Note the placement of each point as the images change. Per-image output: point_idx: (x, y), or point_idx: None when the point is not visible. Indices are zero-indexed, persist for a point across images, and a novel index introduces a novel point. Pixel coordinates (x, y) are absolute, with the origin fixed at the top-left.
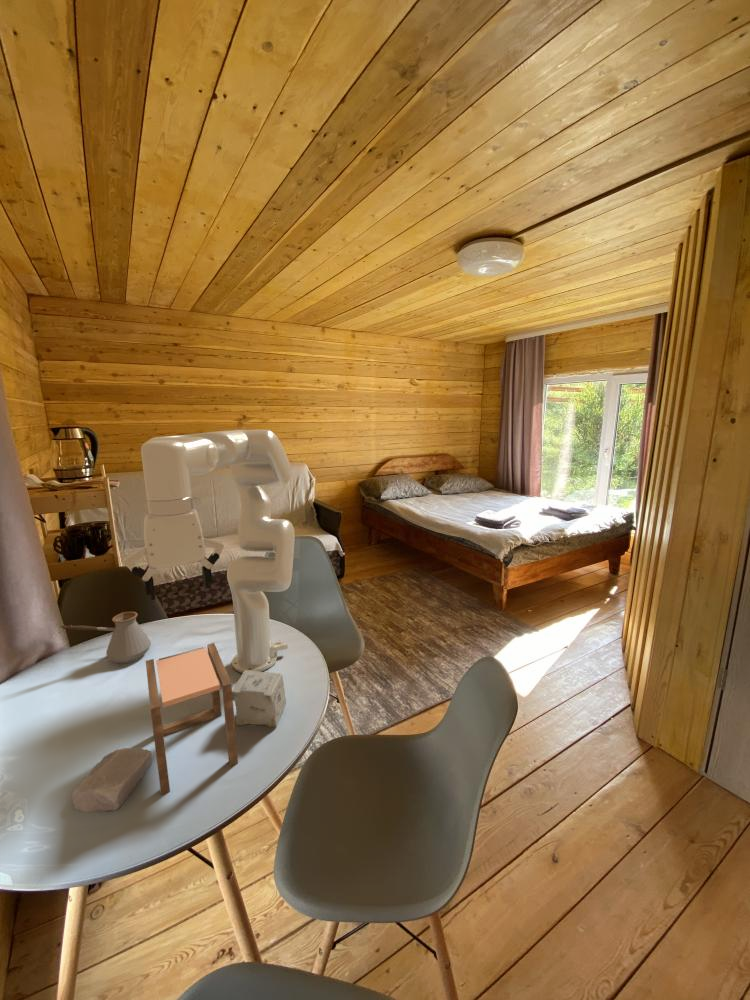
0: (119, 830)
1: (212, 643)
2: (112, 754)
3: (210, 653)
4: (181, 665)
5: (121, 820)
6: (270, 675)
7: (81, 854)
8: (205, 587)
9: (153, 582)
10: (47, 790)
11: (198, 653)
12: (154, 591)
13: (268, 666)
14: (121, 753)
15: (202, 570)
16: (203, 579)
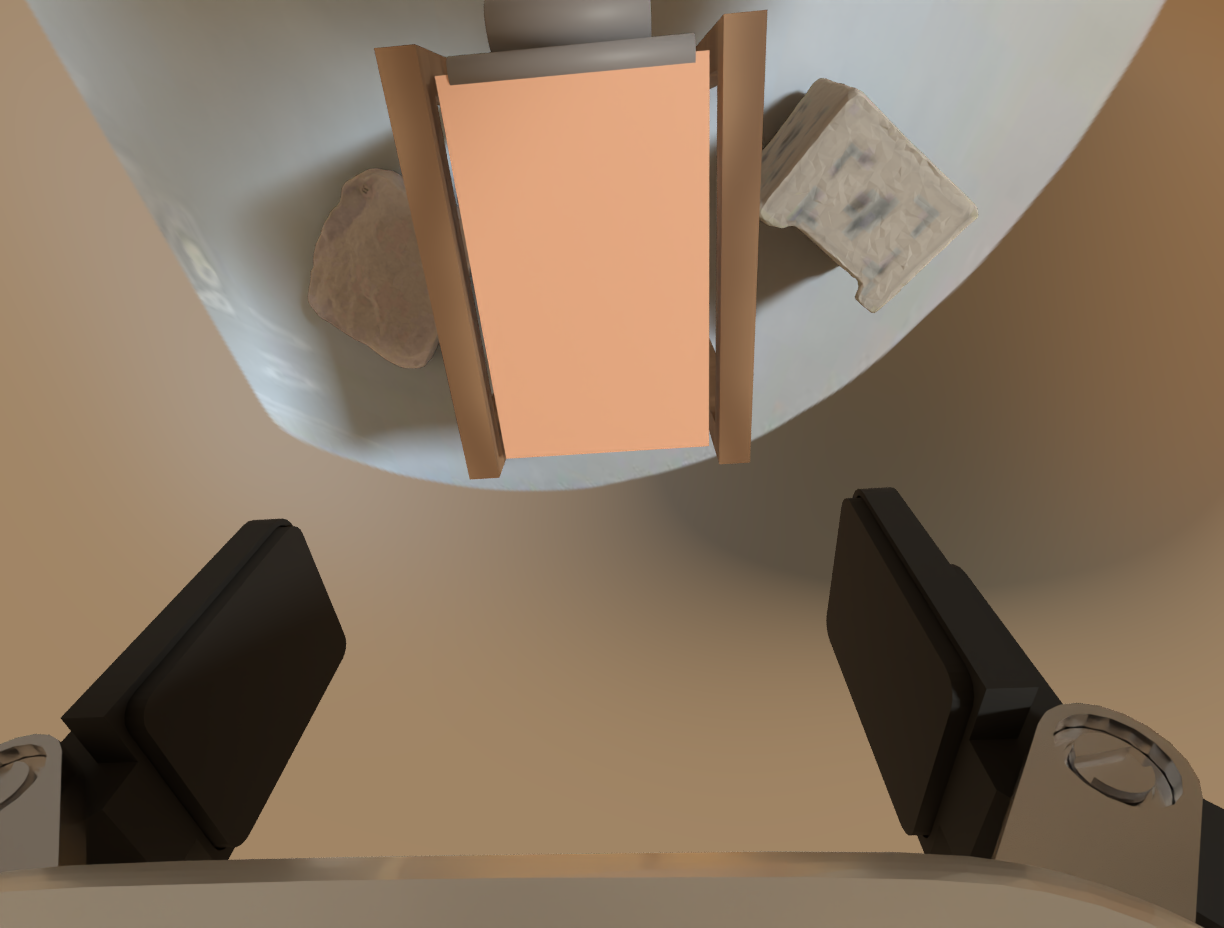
0: (447, 412)
1: (756, 15)
2: (366, 190)
3: (721, 146)
4: (569, 212)
5: (446, 389)
6: (934, 201)
7: (388, 432)
8: (829, 608)
9: (251, 827)
10: (227, 202)
11: (660, 116)
12: (308, 721)
13: None
14: (394, 215)
15: (919, 675)
16: (863, 575)
